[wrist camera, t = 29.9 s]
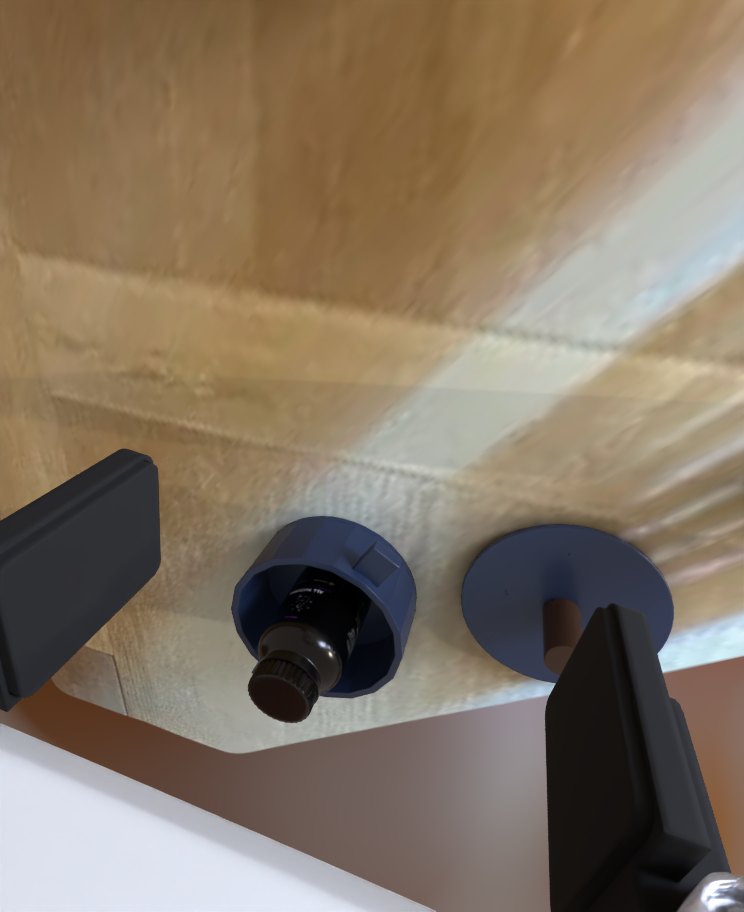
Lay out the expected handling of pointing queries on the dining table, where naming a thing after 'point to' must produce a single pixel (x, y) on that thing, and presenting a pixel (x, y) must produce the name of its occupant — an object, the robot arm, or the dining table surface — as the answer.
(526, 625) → the pan lid
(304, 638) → the supplement bottle
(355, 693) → the pan
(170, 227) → the dining table surface
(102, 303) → the dining table surface
